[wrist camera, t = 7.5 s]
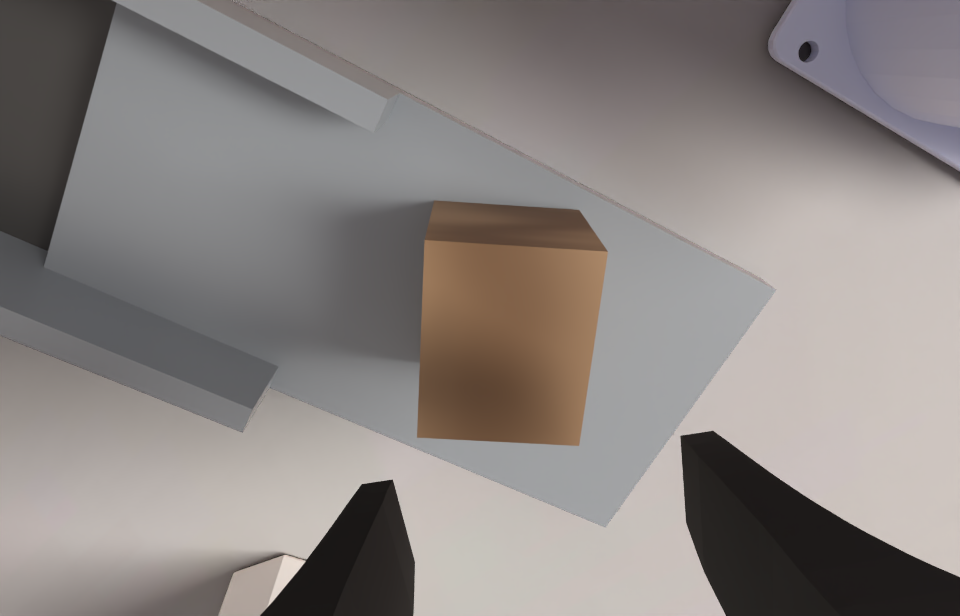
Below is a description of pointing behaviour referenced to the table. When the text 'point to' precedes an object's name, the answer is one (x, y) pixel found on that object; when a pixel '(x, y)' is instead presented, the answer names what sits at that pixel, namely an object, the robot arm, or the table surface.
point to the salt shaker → (258, 586)
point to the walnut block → (507, 323)
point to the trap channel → (304, 238)
